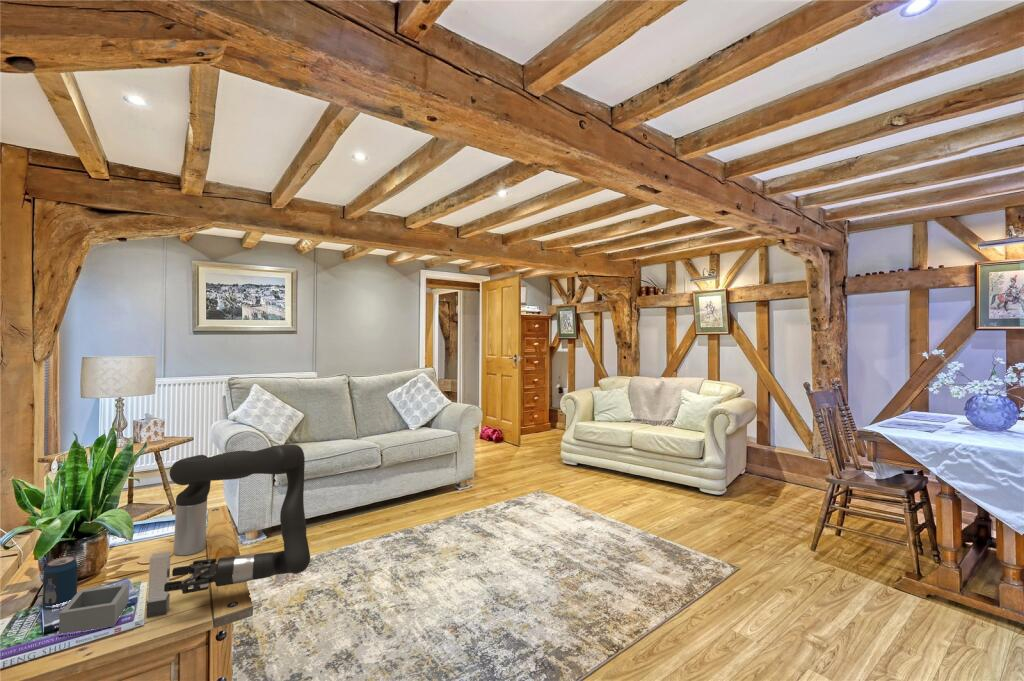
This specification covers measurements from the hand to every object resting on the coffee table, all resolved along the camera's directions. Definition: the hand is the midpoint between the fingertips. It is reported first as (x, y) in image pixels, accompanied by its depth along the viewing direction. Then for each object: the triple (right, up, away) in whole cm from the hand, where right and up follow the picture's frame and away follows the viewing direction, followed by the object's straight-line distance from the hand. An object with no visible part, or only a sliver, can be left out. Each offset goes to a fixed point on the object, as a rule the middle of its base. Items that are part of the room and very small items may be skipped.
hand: (168, 579), depth 127 cm
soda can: (-32, -8, +2) cm, 33 cm away
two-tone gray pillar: (-2, -9, -1) cm, 9 cm away
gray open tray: (-16, -8, -5) cm, 18 cm away
